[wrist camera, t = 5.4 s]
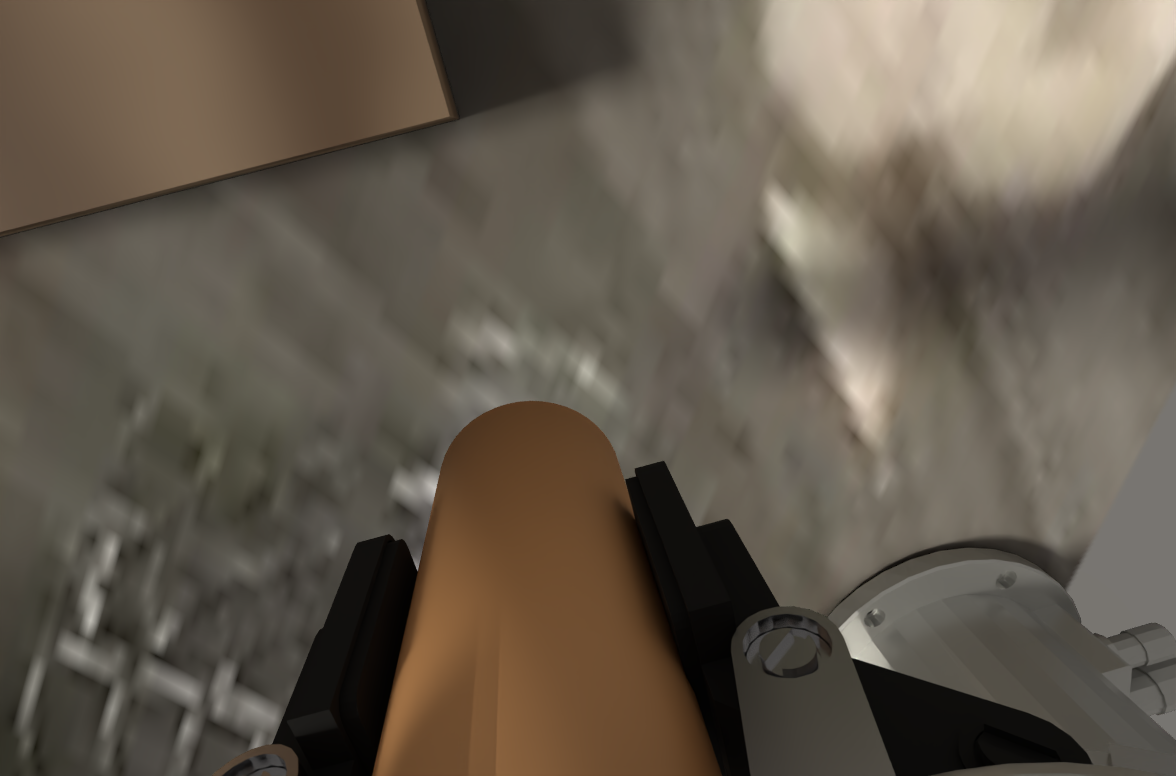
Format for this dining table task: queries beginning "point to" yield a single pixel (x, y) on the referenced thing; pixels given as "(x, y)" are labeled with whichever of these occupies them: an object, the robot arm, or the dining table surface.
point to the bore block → (198, 93)
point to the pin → (538, 618)
